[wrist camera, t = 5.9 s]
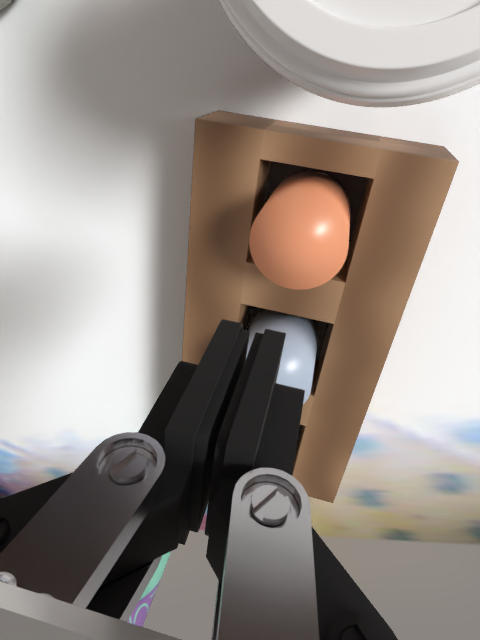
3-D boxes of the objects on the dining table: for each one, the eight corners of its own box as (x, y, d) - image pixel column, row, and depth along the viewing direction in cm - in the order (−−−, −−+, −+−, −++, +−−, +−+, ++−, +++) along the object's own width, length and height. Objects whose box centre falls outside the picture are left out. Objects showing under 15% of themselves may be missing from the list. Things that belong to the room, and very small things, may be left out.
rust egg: (360, 179, 22) (360, 205, 18) (339, 258, 24) (335, 298, 20) (274, 164, 22) (256, 186, 18) (262, 243, 25) (243, 279, 21)
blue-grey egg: (325, 313, 26) (319, 359, 22) (310, 370, 28) (302, 421, 24) (254, 298, 27) (235, 340, 23) (245, 355, 29) (227, 403, 25)
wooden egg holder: (444, 146, 22) (459, 161, 19) (335, 460, 35) (332, 502, 32) (218, 110, 24) (195, 118, 21) (193, 423, 37) (176, 459, 33)
